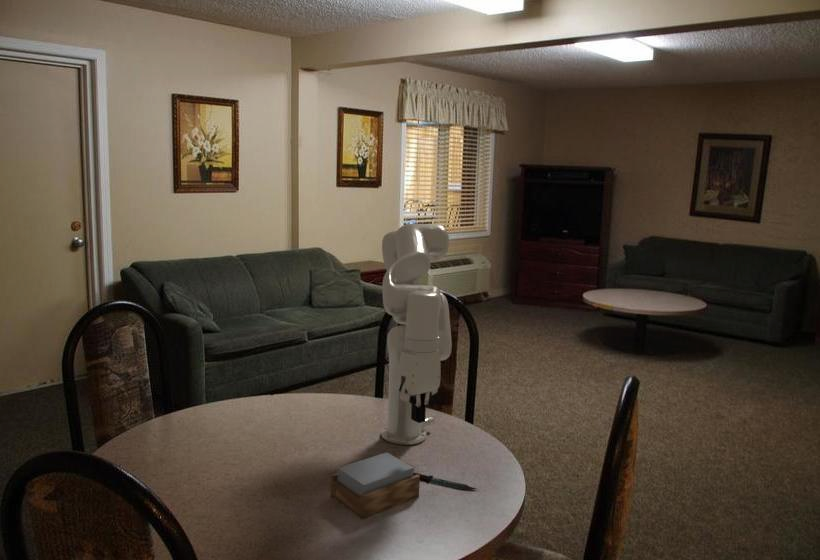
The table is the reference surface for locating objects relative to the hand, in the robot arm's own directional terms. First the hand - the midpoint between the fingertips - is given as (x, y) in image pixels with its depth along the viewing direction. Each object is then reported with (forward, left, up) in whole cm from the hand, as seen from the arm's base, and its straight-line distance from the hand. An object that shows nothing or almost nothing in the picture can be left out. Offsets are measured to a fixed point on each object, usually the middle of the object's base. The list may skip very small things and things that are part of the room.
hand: (417, 420), depth 151 cm
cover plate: (+12, 0, -12) cm, 17 cm away
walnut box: (+12, 0, -16) cm, 20 cm away
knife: (-4, +3, -16) cm, 17 cm away
